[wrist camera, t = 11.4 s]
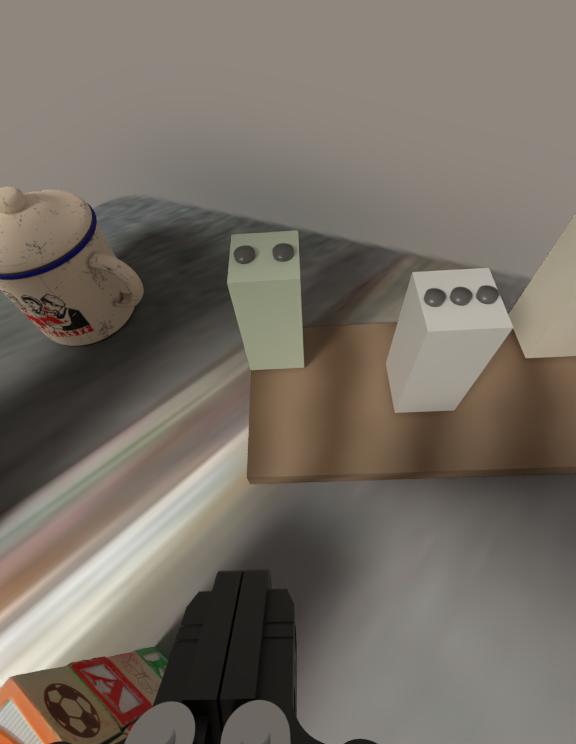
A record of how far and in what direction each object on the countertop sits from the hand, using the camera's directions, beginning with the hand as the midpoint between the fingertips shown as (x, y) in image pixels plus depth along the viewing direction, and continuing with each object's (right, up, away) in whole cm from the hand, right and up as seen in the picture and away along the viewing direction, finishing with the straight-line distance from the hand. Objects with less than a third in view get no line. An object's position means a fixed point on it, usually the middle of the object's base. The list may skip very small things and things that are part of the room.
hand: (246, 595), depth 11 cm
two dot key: (0, +8, +18) cm, 20 cm away
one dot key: (+20, +9, +17) cm, 28 cm away
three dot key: (+10, +6, +16) cm, 20 cm away
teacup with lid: (-16, +12, +24) cm, 31 cm away
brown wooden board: (+11, +5, +17) cm, 21 cm away
